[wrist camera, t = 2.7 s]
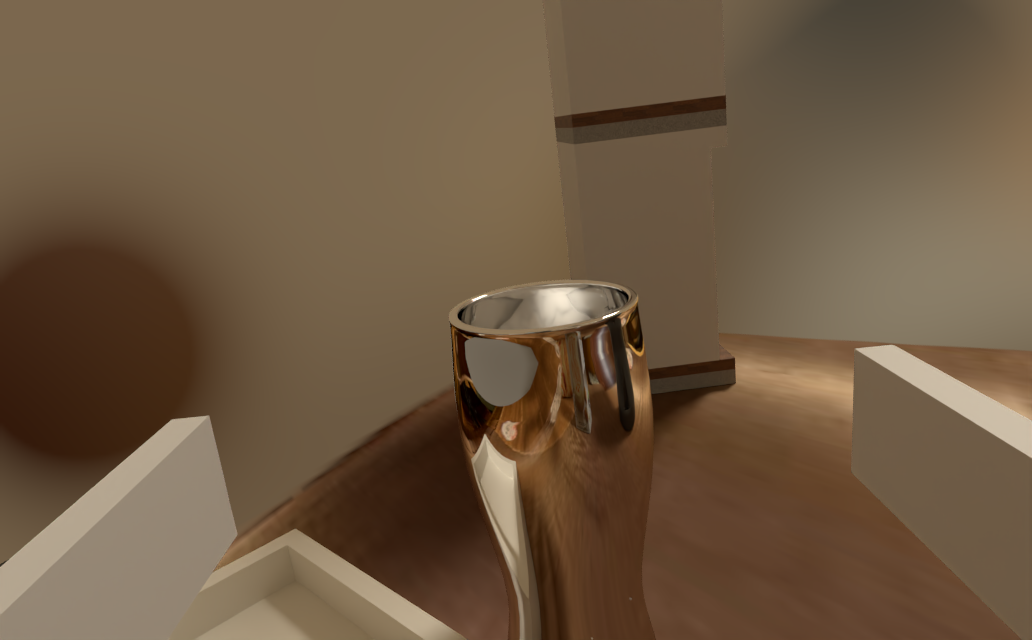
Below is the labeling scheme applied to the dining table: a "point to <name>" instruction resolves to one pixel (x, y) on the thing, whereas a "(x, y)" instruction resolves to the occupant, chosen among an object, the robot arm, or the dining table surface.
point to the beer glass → (560, 451)
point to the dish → (302, 600)
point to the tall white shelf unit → (645, 166)
